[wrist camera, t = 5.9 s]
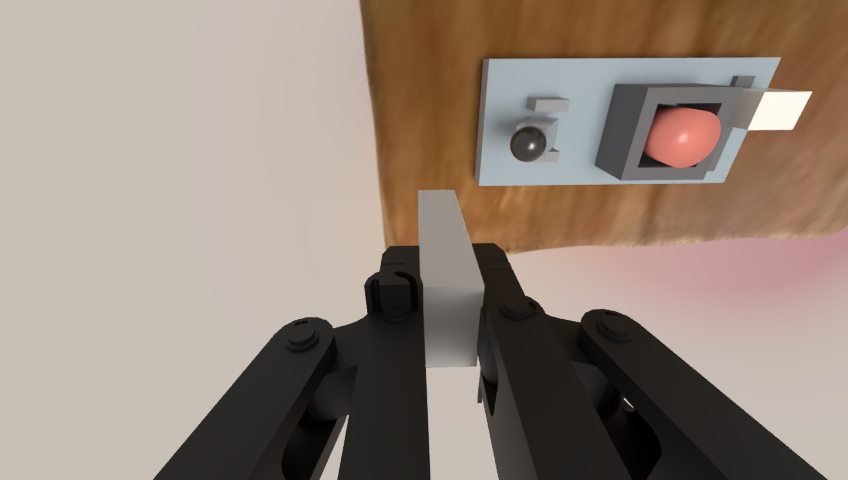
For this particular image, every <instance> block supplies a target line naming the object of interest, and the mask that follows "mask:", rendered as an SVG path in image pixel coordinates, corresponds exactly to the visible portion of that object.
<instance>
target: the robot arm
mask: <svg viewBox="0 0 848 480" xmlns="http://www.w3.org/2000/svg"><path fill="white" fill-rule="evenodd" d="M418 225H419V246H390V247H389V248H388V249H387V250H386V251H385V252H384V253H383V254H382V260H381V266H380V272H377V273H375V274H373V275H372V276H371V277H369V278H368V279H367V281H366V283H365V285H364V288H365V296H366V305H367V313H368V314H367V315H366V316H365V317H364V318H362V319H360V320H358V321H357V322H354V323H351V324H348V325H345V326H341V327H337V328H333V327H332V325H331V324H330V323H329V322H328V321H327V320H323V319H321V318H318V317H315V318H314V317H308V318H307V317H306V318H303V319H298V320H295V321H293V322H291V323H289V324H287V325H285V326H283V327H282V328H281V329H280V330H279V331H278V332H277V333H275V335H274V336H273V337H272V338H271V339H270V341H269V342H268V343H267V344H266V345H265V347H264V348H263V349H262V350H261V351H260V352H259V354H258V355H257V356H256V357H255V358H254V360H253V361H252V362H251V363H250V364H249V366H248V367H247V368H246V369H245V371H244V372H243V373H242V374H241V375H240V376H239V378H238V379H237V380H236V381H235V382H234V383H233V385H232V386H231V387H230V388H229V390H228V391H227V392H226V393H225V395H223V397H222V398H221V399H220V400H219V402H218V403H217V404H216V405H215V406H214V407H213V409H212V410H211V411H210V412H209V413H208V414H207V416H206V417H205V418H204V419H203V420H202V422H201V423H200V424H199V425H198V427H197V428H196V429H195V430H194V431H193V432H192V434H191V435H190V436H189V437H188V438H187V440H186V441H185V442H184V443H183V444H182V445H181V447H180V448H179V449H178V450H177V452H176V453H175V454H174V455H173V456H172V458H171V459H170V460H169V461H168V462H167V463H166V465H165V466H164V467H163V468H162V470H161V471H160V472H159V473H158V474H157V475H156V477H155V478H154V479H153V480H319V479H320V477H321V475H322V472H323V470H324V468H325V466H326V463H327V461H328V459H329V457H330V454H331V452H332V450H333V448H334V445H335V443H336V441H337V438H338V436H339V434H340V432H341V429H342V427H343V425H344V423H345V420H346V417H347V415H349V418H348V424H347V429H346V435H345V440H344V446H343V452H342V457H341V463H340V468H339V474H338V479H337V480H430V457H429V432H428V410H427V409H428V408H427V386H426V385H427V384H426V368H430V367H464V366H465V367H467V366H476V365H477V356H478V357H479V361H480V367H481V371H480V380H479V388H478V403H482V398H483V403H484V408H485V413H486V418H487V423H488V428H489V433H490V438H491V443H492V448H493V453H494V457H495V463H496V468H497V473H498V478H499V480H828V479H826V478H825V477H824V476H823V475H821V474H820V473H819V472H818V471H816V470H815V469H814V468H813V467H812V466H810V465H809V464H808V463H807V462H806V461H805V460H803V459H802V458H801V457H800V456H798V455H797V454H796V453H795V452H793V451H792V450H791V449H790V448H789V447H788V446H786V445H785V444H784V443H783V442H782V441H780V440H779V439H778V438H777V437H775V436H774V435H773V434H772V433H771V432H769V431H768V430H767V429H766V428H765V427H763V426H762V425H761V424H760V423H759V422H757V421H756V420H755V419H754V418H752V417H751V416H750V415H749V414H748V413H746V412H745V411H744V410H743V409H742V408H740V407H739V406H738V405H737V404H736V403H734V402H733V401H732V400H731V399H729V398H728V397H727V396H726V395H725V394H723V393H722V392H721V391H720V390H719V389H717V388H716V387H715V386H714V385H713V384H711V383H710V382H709V381H708V380H707V379H705V378H704V377H703V376H702V375H700V374H699V373H698V372H697V371H696V370H694V369H693V368H692V367H691V366H689V365H688V364H687V363H686V362H685V361H683V360H682V359H681V358H680V357H678V356H677V355H676V354H675V353H674V352H673V351H671V350H670V349H669V348H668V347H666V346H665V345H664V344H663V343H661V341H659V340H658V339H657V338H656V337H654V336H653V335H652V334H651V333H650V332H648V331H647V330H646V329H645V328H644V327H642V326H641V325H640V324H639V323H637V322H636V321H634V320H633V319H631V318H630V317H628V316H626V315H623V314H621V313H618V312H616V311H611V310H605V309H597V310H596V309H595V310H591V311H589V312H586V313H585V314H584V316H583V317H582V319H581V322H575V321H570V320H565V319H560V318H556V317H552V316H549V315H547V314H545V311H544V310H543V308H542V307H541V306H540V305H539V303H538V302H536V301H535V300H533V299H532V298H530V297H528V296H525V294H524V292H523V290H522V288H521V286H520V284H519V282H518V280H517V278H516V276H515V274H514V271H513V270H512V267H511V265H510V263H509V262H508V259H507V257H506V255H505V252H504V251H503V250H502V249H501V248H499V247H498V246H497V245H496V244H494V243H476V244H471V241H470V238H469V235H468V232H467V229H466V225H465V222H464V219H463V216H462V213H461V210H460V206H459V203H458V200H457V197H456V194H455V191H454V190H418ZM624 398H626V399H627V401H628V402H629V403H630V404H631V405H632V406H633V407H634V408H632V407H631V406H630V405H629V404H628V403H627V402H626V401H625V400H624Z"/></svg>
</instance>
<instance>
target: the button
mask: <svg viewBox="0 0 848 480" xmlns="http://www.w3.org/2000/svg"><path fill="white" fill-rule="evenodd" d="M720 133H721V124H720V121H719V119H718V117H717V116H716V115H715V114H713V113H711V112H708V111H702V110H697V109H691V108H685V107H679V106H673V105H667V104H658V105H657V108H656V112H655V115H654V118H653V121H652V124H651V127H650V130H649V133H648V137H647V140H646V143H645V146H644V149H643V152H642V154H643V155H645V156H648V157H650V158H653V159H655V160H658V161H660V162H662V163H665V164H667V165H670V166H672V167H676V168H685V167H689V166H692V165H695V164H697V163H698V162H700V161H701V160H703V159H704V158H705V157H707V156H708V155H709V154H710V152H711V151H712V150H713V149H714V147H715V146H716V144H717V142H718V140H719V137H720Z"/></svg>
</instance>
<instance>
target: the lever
mask: <svg viewBox="0 0 848 480" xmlns="http://www.w3.org/2000/svg"><path fill="white" fill-rule="evenodd" d="M559 119H560V118H551V117H536V116H533V117H531V118H529V119H528V120H526V121H525V122H523V123H521V124H520V125H518V126H517V129H516V132H515V133H514V134H513V136H512V138H511V141H510V150H511V153H512V155H513V156H514V157H515V158H516V159H517V160H519V161H522V162H532V161H534V160H536V159H543V158H544V157H545V155H546V154H547V153H548V152H549V151H550V149H551V148H552V147H553V146H554V145H555V140H556V135H557V129H558V124H559Z"/></svg>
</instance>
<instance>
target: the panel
mask: <svg viewBox="0 0 848 480" xmlns="http://www.w3.org/2000/svg"><path fill="white" fill-rule="evenodd" d="M780 59H781V58H582V59H483V68H482V82H481V95H480V109H479V123H478V136H477V150H476V163H475V179H476V181H477V183H478V185H479V186H510V185H588V184H666V183H724V181H725V178H726V176H727V174H728V172H729V170H730V168H731V165H732V163H733V161H734V159H735V157H736V155H737V152H738V150H739V148H740V146H741V144H742V142H743V139H744V137H745V135H746V133H747V131H748V130H745V129H740V128H735V127H730V126H727V124H728V121H729V119H730V117H731V114H732V112H733V110H734V107H735V105H736V103H737V100H738V98H739V96H740V93H741V91H742V89H743V88H767V87H768V85H769V83H770V81H771V79H772V77H773V74H774V72H775V70H776V68H777V66H778V64H779V61H780ZM658 104H667V105H673V106H679V107H685V108H691V109H697V110H702V111H708V112H711V113H713V114H715V115H716V116H717V117H718V119H719V121H720V124H721V133H720V137H719V140H718V142H717V144H716V146H715V147H714V149H713V150H712V151H711V152H710V154H709V155H708V156H707V157H705V158H704V159H703V160H701V161H700V162H698V163H697V164H695V165H692V166H689V167H685V168H676V167H672V166H670V165H667V164H665V163H662V162H660V161H658V160H655V159H653V158H650V157H648V156H645V155H643V154H642V152H643V149H644V146H645V143H646V140H647V137H648V133H649V130H650V127H651V124H652V121H653V118H654V115H655V112H656V108H657V105H658ZM533 116H536V117H551V118H560V119H559V124H558V129H557V135H556V140H555V145H554V146H553V147H552V148H551V149H550V151H549V152H548V153H547V154H546V155H545V157H544V158H543V159H536V160H534V161H532V162H522V161H519V160H517V159H516V158H515V157H514V156H513V155H512V153H511V150H510V141H511V138H512V136H513V134H514V133H515V132H516V129H517V126H518V125H520V124H521V123H523V122H525V121H526V120H528V119H529V118H531V117H533Z"/></svg>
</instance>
